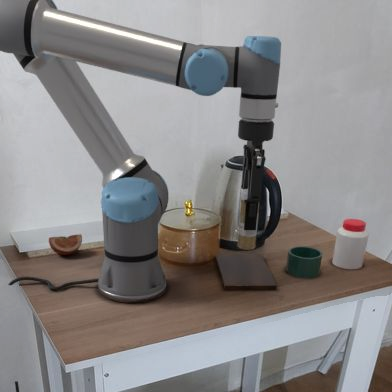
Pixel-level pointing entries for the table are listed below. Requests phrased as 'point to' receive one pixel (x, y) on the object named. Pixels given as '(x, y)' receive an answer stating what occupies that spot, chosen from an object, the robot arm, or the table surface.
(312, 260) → the cup
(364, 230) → the pill bottle
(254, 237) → the sprinkles bottle
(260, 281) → the board
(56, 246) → the fruit slice
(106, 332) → the table surface
